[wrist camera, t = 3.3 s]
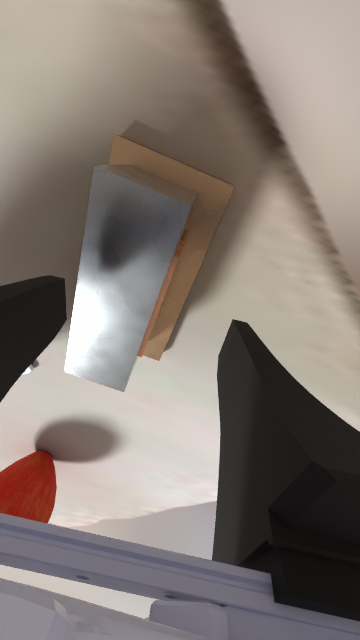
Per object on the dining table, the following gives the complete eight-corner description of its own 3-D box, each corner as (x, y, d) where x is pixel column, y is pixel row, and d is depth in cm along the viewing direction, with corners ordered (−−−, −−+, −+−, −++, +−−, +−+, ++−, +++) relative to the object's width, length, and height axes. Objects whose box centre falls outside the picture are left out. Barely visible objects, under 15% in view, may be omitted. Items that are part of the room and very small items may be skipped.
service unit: (85, 325, 21) (45, 375, 16) (119, 135, 14) (65, 120, 9) (161, 353, 22) (145, 409, 17) (233, 185, 15) (243, 197, 10)
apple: (42, 474, 38) (-12, 574, 28) (0, 442, 34) (-78, 544, 25) (87, 467, 35) (41, 575, 26) (46, 431, 31) (-23, 542, 22)
